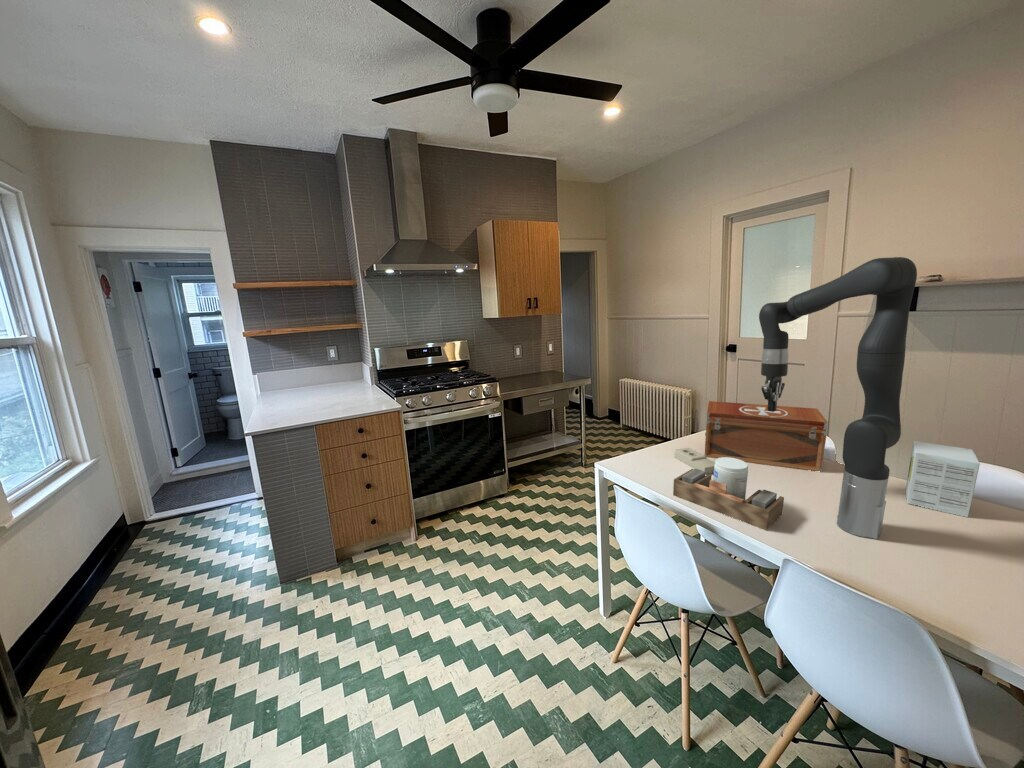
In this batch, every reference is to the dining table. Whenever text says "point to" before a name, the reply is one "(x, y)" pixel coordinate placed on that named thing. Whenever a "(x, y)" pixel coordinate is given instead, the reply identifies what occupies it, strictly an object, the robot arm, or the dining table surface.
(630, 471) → the dining table surface
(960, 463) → the supplement box
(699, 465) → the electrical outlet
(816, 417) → the wooden box
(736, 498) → the rack
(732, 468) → the supplement tub
